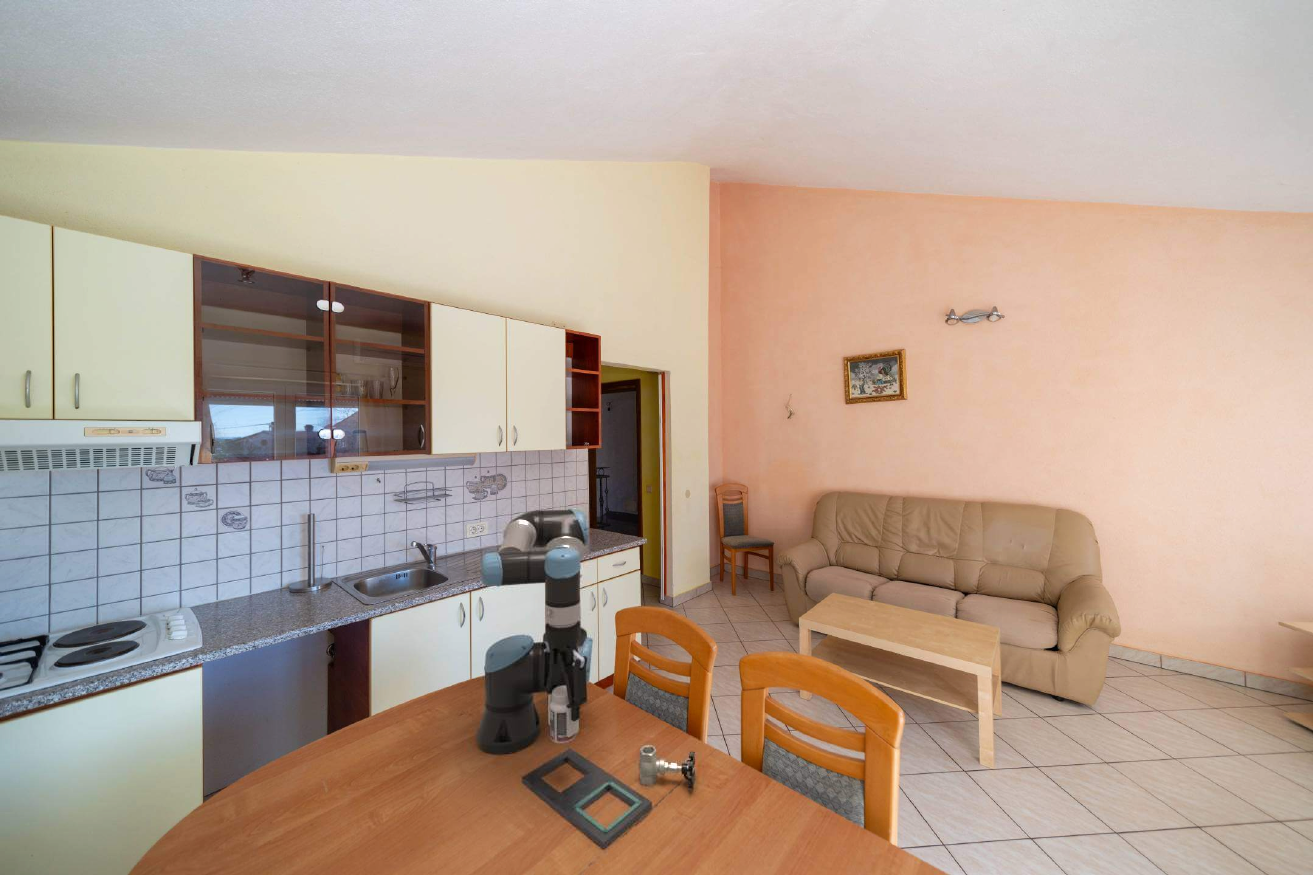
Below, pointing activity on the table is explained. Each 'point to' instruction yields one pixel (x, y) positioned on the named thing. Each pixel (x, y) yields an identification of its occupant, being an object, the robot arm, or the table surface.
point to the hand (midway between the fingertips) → (563, 727)
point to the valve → (663, 766)
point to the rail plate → (587, 797)
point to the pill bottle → (559, 716)
